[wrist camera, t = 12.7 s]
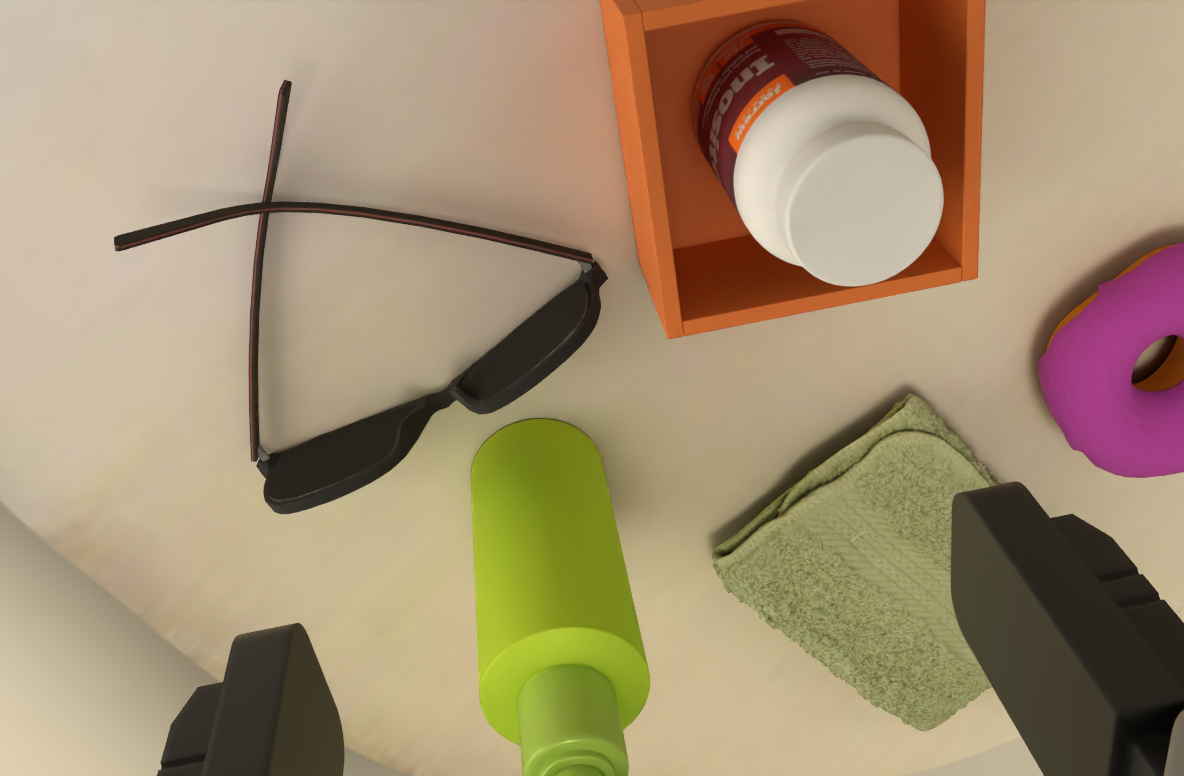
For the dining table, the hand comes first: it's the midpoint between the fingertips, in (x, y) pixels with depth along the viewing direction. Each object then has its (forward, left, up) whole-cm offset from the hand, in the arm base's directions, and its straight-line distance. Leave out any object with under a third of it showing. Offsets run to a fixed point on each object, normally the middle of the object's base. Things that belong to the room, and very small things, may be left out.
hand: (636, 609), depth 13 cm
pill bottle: (-9, +4, -30) cm, 31 cm away
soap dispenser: (+2, +19, -30) cm, 36 cm away
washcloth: (-14, +28, -30) cm, 44 cm away
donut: (-25, +18, -30) cm, 43 cm away
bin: (-9, +4, -30) cm, 32 cm away
